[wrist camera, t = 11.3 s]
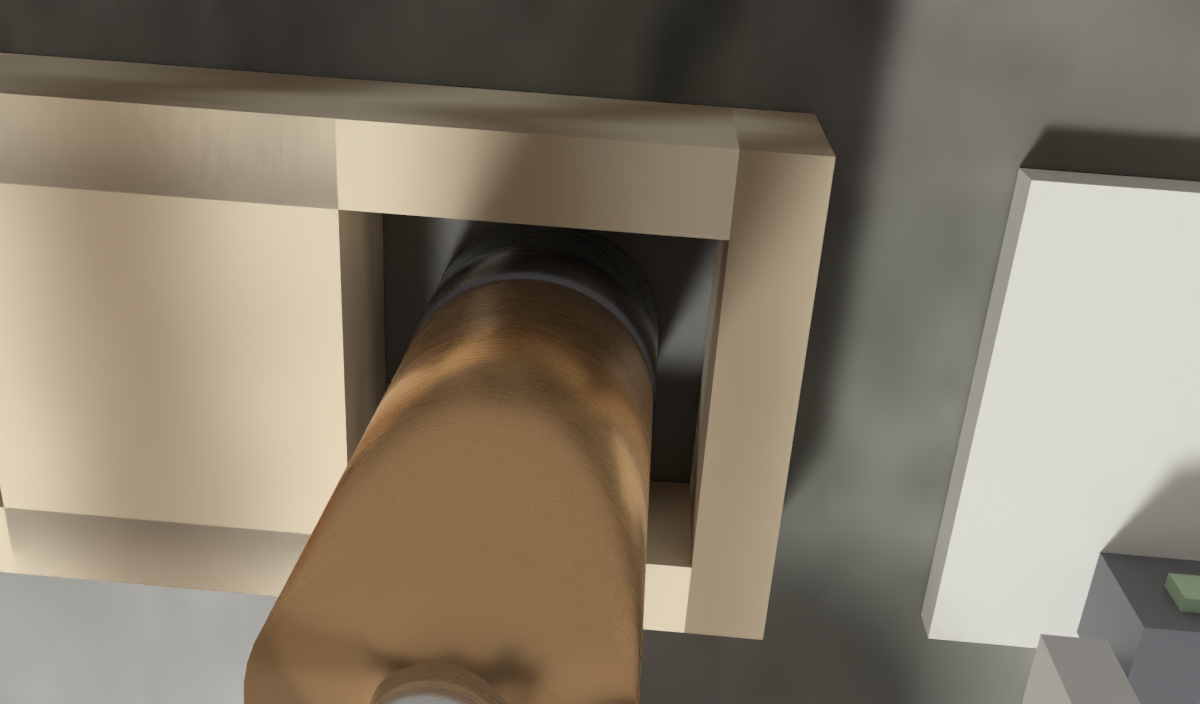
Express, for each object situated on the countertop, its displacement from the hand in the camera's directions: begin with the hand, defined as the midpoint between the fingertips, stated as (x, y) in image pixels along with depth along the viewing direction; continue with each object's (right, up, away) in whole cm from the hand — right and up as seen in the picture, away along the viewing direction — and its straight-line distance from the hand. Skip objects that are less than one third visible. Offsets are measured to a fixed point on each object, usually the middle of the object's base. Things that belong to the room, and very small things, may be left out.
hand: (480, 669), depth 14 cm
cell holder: (-6, +5, +9) cm, 12 cm away
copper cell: (0, +4, +9) cm, 10 cm away
